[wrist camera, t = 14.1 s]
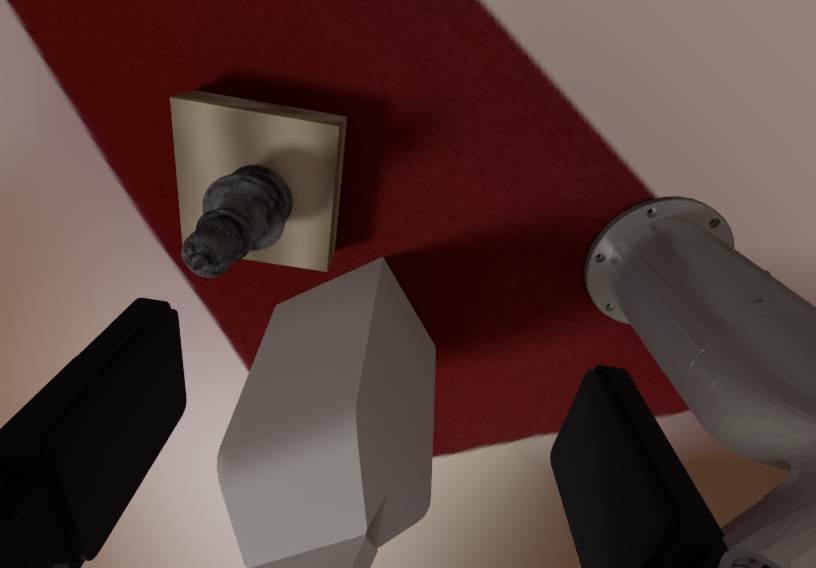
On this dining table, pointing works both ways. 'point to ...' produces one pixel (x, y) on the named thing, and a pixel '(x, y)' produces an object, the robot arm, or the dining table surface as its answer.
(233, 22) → the dining table surface
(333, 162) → the beech block
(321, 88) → the dining table surface
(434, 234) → the dining table surface
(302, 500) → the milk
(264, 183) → the black chess piece
